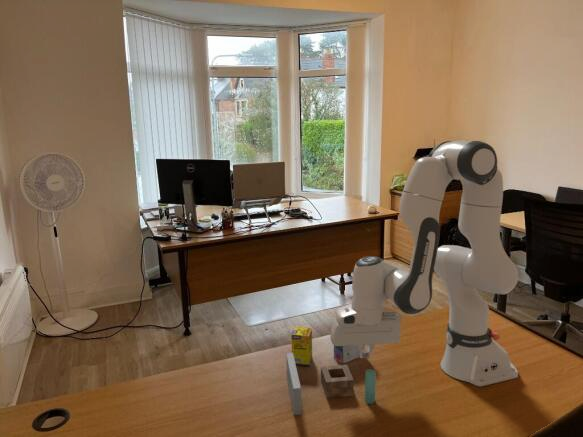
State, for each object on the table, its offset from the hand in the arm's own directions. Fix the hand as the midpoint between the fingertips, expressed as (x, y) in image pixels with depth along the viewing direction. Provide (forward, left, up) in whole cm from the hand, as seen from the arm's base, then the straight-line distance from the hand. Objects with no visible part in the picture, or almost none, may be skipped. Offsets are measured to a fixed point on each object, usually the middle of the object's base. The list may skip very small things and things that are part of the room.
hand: (364, 356), depth 127 cm
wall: (+21, +1, -10) cm, 23 cm away
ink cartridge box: (0, -17, -10) cm, 20 cm away
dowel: (0, +7, -10) cm, 12 cm away
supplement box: (+16, -16, -10) cm, 25 cm away
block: (+8, 0, -10) cm, 13 cm away
